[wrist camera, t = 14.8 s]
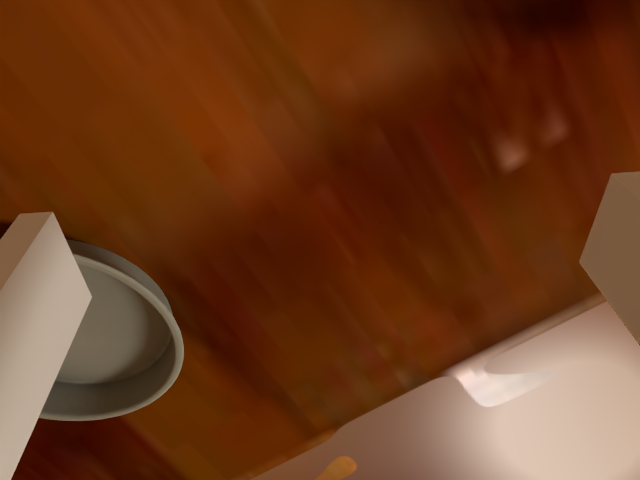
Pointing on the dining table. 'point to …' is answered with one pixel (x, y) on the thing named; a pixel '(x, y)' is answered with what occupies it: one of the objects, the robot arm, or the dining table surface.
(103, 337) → the cake pan
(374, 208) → the dining table surface
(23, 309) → the robot arm
